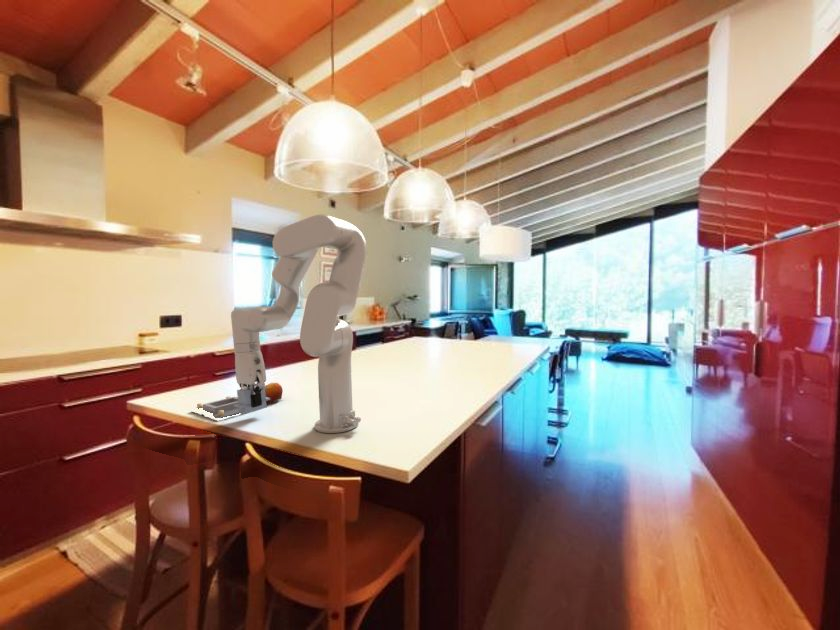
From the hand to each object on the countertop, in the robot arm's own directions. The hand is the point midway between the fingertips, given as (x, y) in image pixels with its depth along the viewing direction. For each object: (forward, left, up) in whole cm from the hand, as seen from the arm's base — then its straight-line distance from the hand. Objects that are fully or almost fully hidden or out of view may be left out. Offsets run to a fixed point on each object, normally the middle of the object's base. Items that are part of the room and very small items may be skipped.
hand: (252, 404), depth 123 cm
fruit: (+12, -15, -5) cm, 20 cm away
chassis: (+16, 0, -4) cm, 17 cm away
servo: (0, 0, -2) cm, 2 cm away
